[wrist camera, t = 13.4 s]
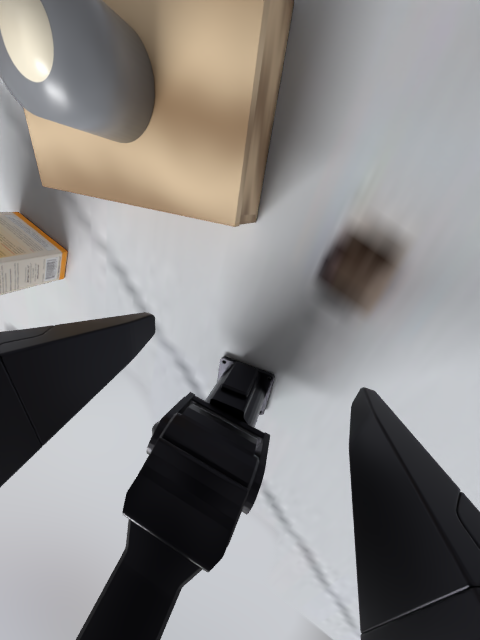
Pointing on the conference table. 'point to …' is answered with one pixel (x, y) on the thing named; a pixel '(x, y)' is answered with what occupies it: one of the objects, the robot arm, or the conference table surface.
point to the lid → (174, 115)
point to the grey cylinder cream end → (77, 66)
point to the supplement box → (27, 255)
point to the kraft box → (266, 104)
